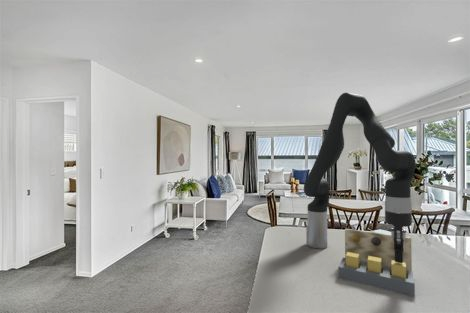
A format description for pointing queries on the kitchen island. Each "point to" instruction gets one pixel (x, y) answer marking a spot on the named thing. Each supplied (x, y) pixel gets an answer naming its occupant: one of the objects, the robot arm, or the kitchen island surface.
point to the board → (378, 278)
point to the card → (376, 247)
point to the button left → (352, 259)
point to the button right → (398, 269)
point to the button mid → (374, 264)
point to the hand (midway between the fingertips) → (398, 261)
